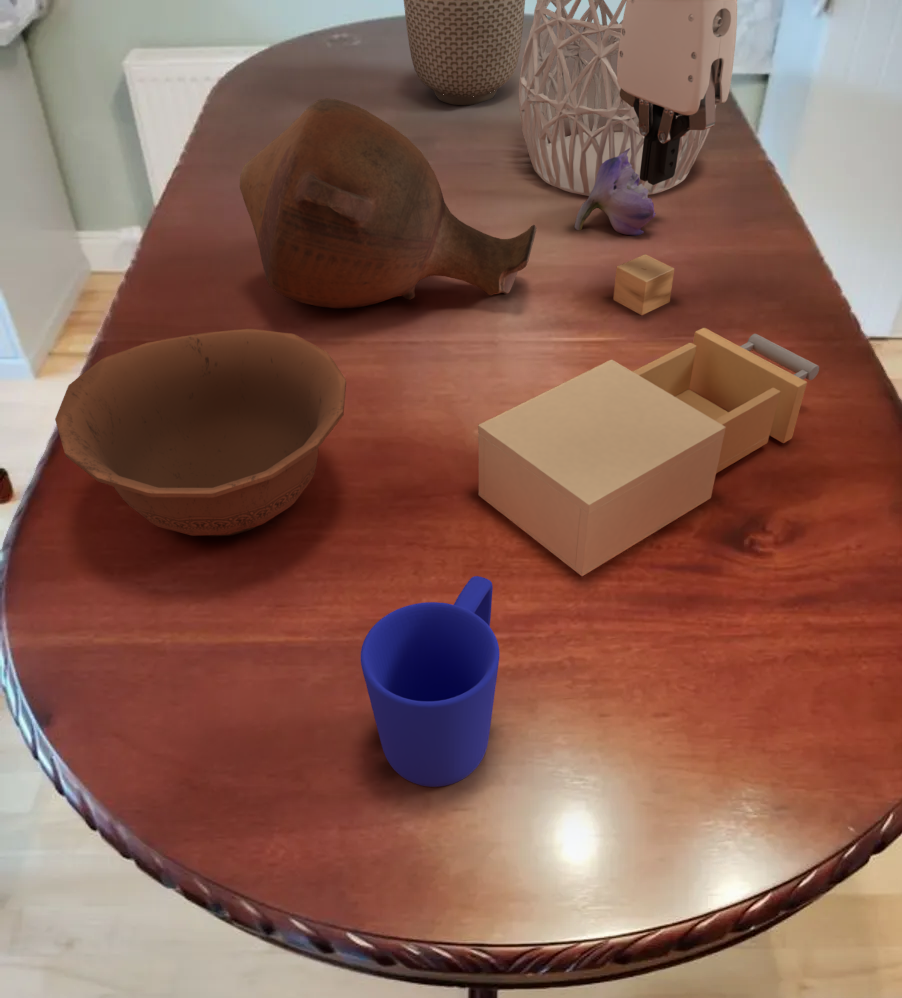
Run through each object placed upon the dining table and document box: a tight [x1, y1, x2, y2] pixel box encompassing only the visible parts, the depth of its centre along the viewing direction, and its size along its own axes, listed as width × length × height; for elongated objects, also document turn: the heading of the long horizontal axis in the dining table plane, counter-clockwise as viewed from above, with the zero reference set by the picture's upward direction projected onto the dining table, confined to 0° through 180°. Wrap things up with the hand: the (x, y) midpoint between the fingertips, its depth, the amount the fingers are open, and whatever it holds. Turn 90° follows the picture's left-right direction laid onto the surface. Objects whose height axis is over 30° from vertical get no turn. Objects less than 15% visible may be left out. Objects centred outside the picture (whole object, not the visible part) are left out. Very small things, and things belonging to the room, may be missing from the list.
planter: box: [403, 0, 526, 106], centre depth 143 cm, size 17×17×16 cm
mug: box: [360, 575, 500, 788], centre depth 64 cm, size 8×12×10 cm
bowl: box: [54, 328, 347, 537], centre depth 80 cm, size 22×22×11 cm
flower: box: [573, 148, 657, 236], centre depth 115 cm, size 9×9×10 cm
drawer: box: [631, 327, 820, 474], centre depth 87 cm, size 19×11×6 cm, turn 128°
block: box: [612, 253, 675, 316], centre depth 104 cm, size 4×4×4 cm
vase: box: [518, 0, 717, 197], centre depth 119 cm, size 24×24×30 cm
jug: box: [239, 98, 537, 309], centre depth 101 cm, size 20×20×30 cm
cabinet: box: [477, 359, 726, 577], centre depth 81 cm, size 15×13×8 cm
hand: (656, 178), depth 96 cm, fingers closed
